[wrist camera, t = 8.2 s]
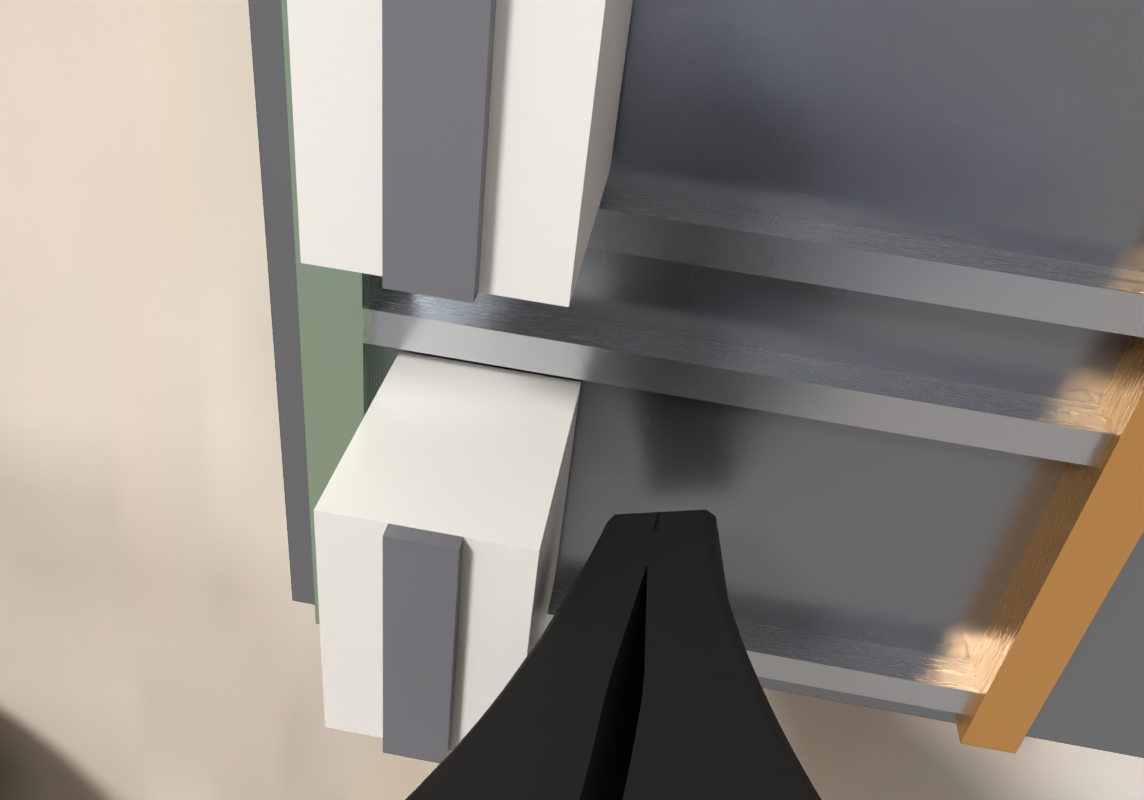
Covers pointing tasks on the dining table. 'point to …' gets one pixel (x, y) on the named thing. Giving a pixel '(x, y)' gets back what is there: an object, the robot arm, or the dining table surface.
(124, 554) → the dining table surface
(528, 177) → the breaker
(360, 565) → the breaker
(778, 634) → the panel
